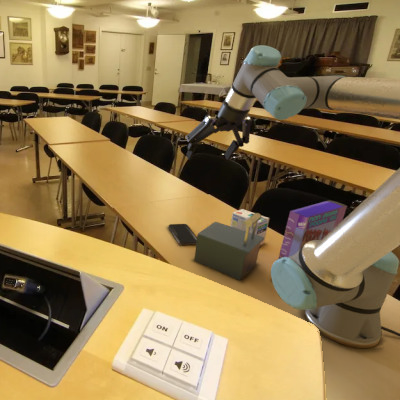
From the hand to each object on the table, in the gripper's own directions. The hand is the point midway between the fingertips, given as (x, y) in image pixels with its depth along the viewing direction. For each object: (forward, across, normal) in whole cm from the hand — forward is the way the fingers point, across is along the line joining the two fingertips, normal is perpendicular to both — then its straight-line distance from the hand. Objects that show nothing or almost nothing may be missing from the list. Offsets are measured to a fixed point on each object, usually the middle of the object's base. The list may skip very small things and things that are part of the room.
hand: (207, 157), depth 107 cm
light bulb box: (+28, -22, +16) cm, 39 cm away
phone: (+33, 0, +10) cm, 35 cm away
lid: (+14, -6, +23) cm, 28 cm away
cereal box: (+16, -24, +37) cm, 47 cm away
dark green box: (+22, -6, +28) cm, 36 cm away
